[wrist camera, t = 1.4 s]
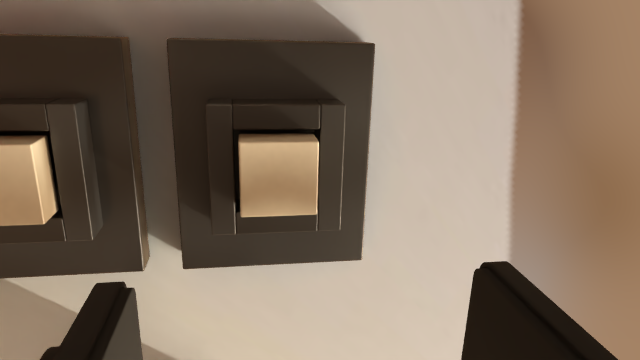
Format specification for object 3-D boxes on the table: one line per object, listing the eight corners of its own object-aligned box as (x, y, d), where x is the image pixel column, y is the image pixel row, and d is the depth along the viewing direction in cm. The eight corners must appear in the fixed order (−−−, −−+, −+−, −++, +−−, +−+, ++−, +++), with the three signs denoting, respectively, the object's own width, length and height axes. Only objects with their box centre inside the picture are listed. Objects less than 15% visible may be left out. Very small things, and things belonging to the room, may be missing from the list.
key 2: (238, 133, 22) (238, 141, 21) (313, 132, 23) (319, 141, 21) (240, 204, 23) (240, 217, 22) (312, 202, 24) (317, 215, 22)
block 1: (-101, 31, 21) (-163, 32, 18) (129, 36, 23) (110, 38, 20) (-45, 266, 25) (-88, 302, 22) (150, 257, 27) (137, 289, 23)
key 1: (-42, 135, 20) (-67, 145, 19) (47, 134, 21) (31, 144, 19) (-26, 212, 21) (-48, 228, 20) (59, 210, 22) (44, 224, 20)
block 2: (171, 37, 23) (159, 39, 20) (367, 42, 25) (386, 44, 22) (186, 255, 27) (178, 287, 24) (355, 247, 29) (370, 276, 25)
